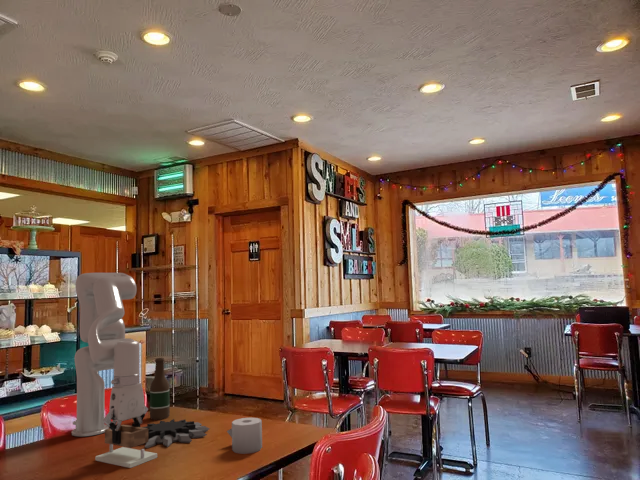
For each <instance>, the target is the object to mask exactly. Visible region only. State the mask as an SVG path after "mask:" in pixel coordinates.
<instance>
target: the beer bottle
mask: <svg viewBox="0 0 640 480" xmlns="http://www.w3.org/2000/svg"><path fill="white" fill-rule="evenodd" d="M154 361H155V368H154V378H153V379H152V381H151V383H150V387H149V388H150V389H149V417H150V420H153V421H157V420H158V421H163V420H165V419H168V418H169V417H170V412H171V411H170V409H171V408H170V404H171V403H170V402H171V401H170V399H171V397H170V395H171V394H170V391H171V390H170V383H169V380H168V379H167V378H166V375H165V358H164V357H157V358H154Z"/></svg>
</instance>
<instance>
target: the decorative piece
mask: <svg viewBox="0 0 640 480" xmlns="http://www.w3.org/2000/svg"><path fill="white" fill-rule="evenodd" d="M146 425H147V426H141V427H142V428H148V442H146V443H143V444H141V445H144V444H145V445H144V449H145V448H146V449H149V448H153V447H154V446H155V447H156V445H158V444H163V446H165V447H166V448H169V447H170V446H171V445H172V444H173V443H176V442H180V443H183V444H184V443H187V444H189V443H191V442H192V441H193V440H192V439H199V438H204V437H205V436H207V435H208V434H207V433H206V432H208V431H209V430H210V429H211V428H210V427H208V426H205V425H203V424H202V423H200V422H198V421H197V422H195V421H193V420H192V421H187V419H186V418H185V419H181V420H178V421H175V419H174V418H173V419H170V421H164V420H159V423H147V424H146Z"/></svg>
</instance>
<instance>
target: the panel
mask: <svg viewBox="0 0 640 480" xmlns="http://www.w3.org/2000/svg"><path fill="white" fill-rule="evenodd" d="M157 458H158V453H157V452H151V451H146V450H145V448H141V449H136V448H128V447H123V446H120V447H119V448H116V449H114V445H112V444H109V451H107V452H105V453H102V454H99V455H96V456H95V461H97V462H101V463H105V464H110V465H115V466H121V467H123V468H129V469H131V468H135V467H136V466H137V467H138V466H139V465H143V464H144V463H146V462H149V461H152V460H156V459H157Z"/></svg>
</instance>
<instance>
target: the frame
mask: <svg viewBox="0 0 640 480" xmlns="http://www.w3.org/2000/svg"><path fill="white" fill-rule="evenodd" d="M142 427H143V426H140V427H135V426H132V425H129V424H121V425H120V428H119V430H121V443H120V444H115V443H112V430H110V428H109V429H106V430H105V432H104V444H108V445H110V444H112V445H113V446H118V447H126V448H131V449H133V448H134V447H137V446H140V445H141V444H143V443H145V444H146V442H148V428H142ZM143 445H144V444H143Z"/></svg>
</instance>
